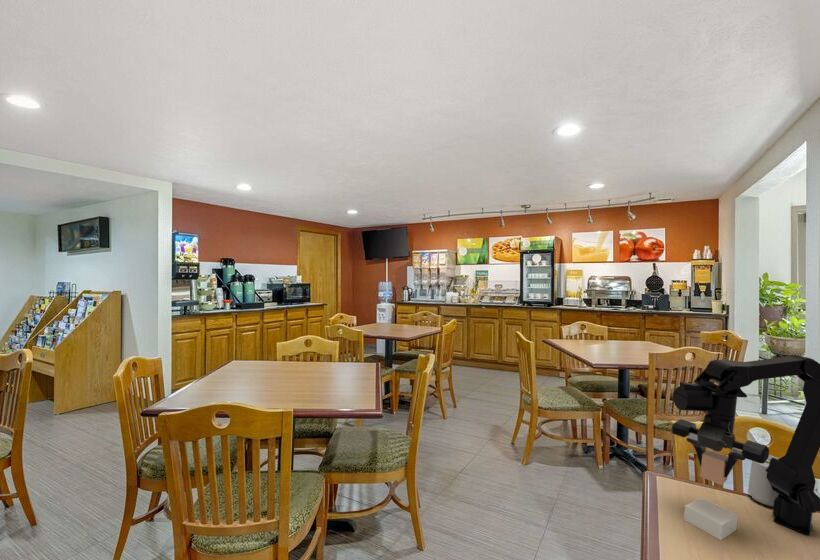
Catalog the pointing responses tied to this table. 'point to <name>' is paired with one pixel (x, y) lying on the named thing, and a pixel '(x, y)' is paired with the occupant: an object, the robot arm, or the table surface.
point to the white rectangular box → (711, 518)
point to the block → (714, 466)
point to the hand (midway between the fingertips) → (714, 472)
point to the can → (761, 483)
